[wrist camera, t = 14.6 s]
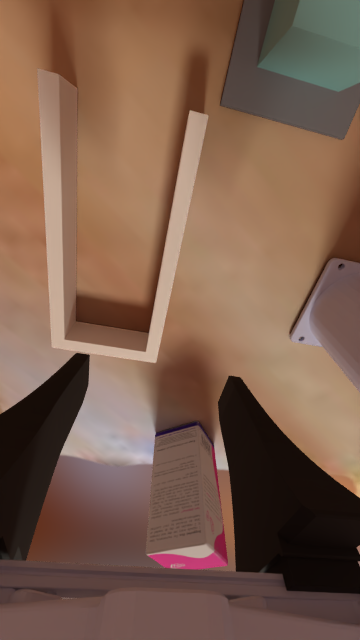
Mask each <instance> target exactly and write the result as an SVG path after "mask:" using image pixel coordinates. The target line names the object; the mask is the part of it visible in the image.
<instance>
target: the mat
mask: <svg viewBox="0 0 360 640" xmlns="http://www.w3.org/2000/svg"><path fill="white" fill-rule="evenodd" d="M274 2H275V0H244V2H243V6H242V11H241V15H240V20H239V24H238V28H237V33H236V37H235V42H234V46H233V50H232V55H231V59H230V64H229V68H228V72H227V77H226V81H225V86H224V90H223V94H222V99H221V103H220V106H224V107H227V108H231V109H234V110H238V111H241V112H245V113H249V114H252V115H256V116H259V117H263V118H266V119H270V120H273V121H277V122H280V123H284V124H288V125H291V126H295V127H298V128H302V129H305V130H309V131H312V132H316V133H320V134H323V135H327V136H330V137H334V138H337V139H341V140H342V139H344V138H345V135H346V133H347V131H348V129H349V126H350V124H351V122H352V120H353V117H354V115H355V113H356V110H357V108H358V106H359V104H360V83H358V84H355V85H353V86H351V87H348V88H346V89H344V90H342V91H339V92H337V91H334V90H331V89H328V88H324V87H321V86H318V85H315V84H311V83H308V82H305V81H302V80H298V79H295V78H292V77H289V76H285V75H282V74H279V73H276V72H272V71H269V70H266V69H263V68H259V67H257V65H258V62H259V58H260V54H261V50H262V47H263V43H264V39H265V35H266V32H267V28H268V24H269V21H270V17H271V13H272V9H273V6H274Z"/></svg>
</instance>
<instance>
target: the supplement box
mask: <svg viewBox="0 0 360 640" xmlns="http://www.w3.org/2000/svg"><path fill="white" fill-rule="evenodd" d="M225 543H226V542H225V534H224V526H223V517H222V509H221V501H220V494H219V485H218V476H217V468H216V460H215V451H214V445H213V443H212V442H211V440H210V439H209V437H208V435H207V434H206V432H205V431H204V429H203V428H202V426H201V425H200V423H199V421H195V422H191V423H188V424H185V425H182V426H179V427H175V428H172V429H168V430H165V431H161V432H158V433H156V435H155V445H154V457H153V470H152V482H151V495H150V508H149V520H148V532H147V545H146V555H148V556H149V557H151V558H152V559H154V560H155V561H157V562H158V563H160V564H161V565H162V566H164V567H165V568H176V569H195V570H198V569H205V568H212V567H220V566H227V565H228V559H227V552H226V544H225Z"/></svg>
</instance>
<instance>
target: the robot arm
mask: <svg viewBox="0 0 360 640" xmlns="http://www.w3.org/2000/svg"><path fill="white" fill-rule="evenodd" d="M340 264H342V266H341V267H340V268H338V266H339V265H340ZM300 337H302V338H300ZM299 338H300V339H299ZM290 339H291V341H292V342H296V343H302V344H308V345H314V346H320V347H323V348H324V349H325V350H326V351H327V353H328V354H329V355H330V356H331V358H332V359H333V360H334V361H335V363H336V364H337V365H338V366H339V367H340V369H341V370H342V371H343V372H344V374H345V375H346V376H347V377H348V379H349V380H350V381H351V382H352V383H353V385H354V386H355V387H356V388H357V390H358V391H359V392H360V263H358V262H353V261H349V260H344V259H339V258H332V259H331V260H329V262H328V263H327V265H326V267H325V269H324V271H323V273H322V274H321V276H320V278H319V280H318V282H317V284H316V286H315V288H314V290H313V292H312V294H311V296H310V298H309V299H308V301H307V303H306V305H305V307H304V309H303V311H302V313H301V315H300V317H299V319H298V321H297V323H296V324H295V326H294V328H293V330H292V332H291V334H290ZM89 357H90V355H87V354H80V353H76V354H75V355H74V356H73V357H72V358H71V359H70V360H69V361H68V362H67V363H66V364H64V365H63V366H62V367H61V368H60V369H59V370H58V371H57V372H56V373H55V374H54V375H52V376H51V377H50V378H49V379H48V380H47V381H46V382H44V383H43V384H42V385H41V386H39V387H38V388H37V389H36V390H34V391H33V392H32V393H31V394H29V395H28V396H27V397H25V398H24V399H23V400H21V401H20V402H18V403H17V404H15V405H14V406H12V407H11V408H9V409H8V410H6V411H5V412H3V413H2V414H0V640H360V566H359V564H358V561H360V554H359V552H358V550H357V548H356V547H358V546H359V545H360V498H359V497H358V496H356V495H355V494H354V493H352V492H351V491H349V490H348V489H347V488H345V487H344V486H343V485H341V484H340V483H338V482H337V481H335V480H334V479H333V478H332V477H331V476H330V475H328V474H327V473H326V472H325V471H323V470H322V469H321V468H320V467H319V466H317V465H316V464H315V463H314V462H313V461H312V460H311V459H309V458H308V457H307V456H306V455H305V454H304V453H303V452H302V451H301V450H300V449H299V448H298V447H297V446H296V445H295V444H294V443H293V442H292V441H291V440H290V439H289V438H288V437H287V436H286V435H285V434H284V433H283V432H282V431H281V430H280V429H279V427H278V426H277V425H276V424H275V423H274V422H273V420H272V419H271V418H270V417H269V415H268V414H267V413H266V412H265V410H264V409H263V408H262V407H261V405H260V404H259V403H258V401H257V400H256V399H255V397H254V396H253V394H252V393H251V392H250V390H249V389H248V387H247V386H246V385H245V383H244V382H243V380H242V379H241V378H240V377H235V376H229V377H228V380H227V382H226V384H225V387H224V389H223V392H222V394H221V396H220V399H219V401H218V408H219V421H220V426H221V432H222V437H223V442H224V447H225V451H226V456H227V461H228V467H229V474H230V484H231V493H232V504H233V518H234V534H235V560H236V572H233V571H214V570H195V569H176V568H156V567H155V568H154V567H137V566H118V565H98V564H79V563H58V562H40V561H39V562H38V561H26V558H27V555H28V552H29V548H30V545H31V542H32V538H33V535H34V532H35V528H36V525H37V522H38V519H39V516H40V512H41V509H42V506H43V503H44V500H45V497H46V494H47V491H48V488H49V485H50V482H51V479H52V476H53V473H54V470H55V467H56V464H57V461H58V458H59V455H60V453H61V450H62V448H63V446H64V443H65V441H66V439H67V437H68V434H69V432H70V430H71V428H72V426H73V423H74V421H75V419H76V417H77V415H78V412H79V410H80V408H81V406H82V403H83V400H84V397H85V394H86V391H87V387H88V381H89ZM61 597H65V598H66V597H67V598H68V597H69V598H73V599H62V598H61Z"/></svg>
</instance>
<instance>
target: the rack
mask: <svg viewBox="0 0 360 640" xmlns="http://www.w3.org/2000/svg"><path fill="white" fill-rule="evenodd" d="M37 72H38V91H39V111H40V130H41V149H42V168H43V187H44V206H45V225H46V244H47V263H48V282H49V301H50V321H51V340H52V348H58V349H65V350H72V351H78V352H85V353H92V354H99V355H105V356H112V357H119V358H125V359H132V360H139V361H145V362H152V363H156V361H157V356H158V351H159V346H160V342H161V337H162V332H163V328H164V323H165V318H166V314H167V309H168V304H169V300H170V295H171V290H172V285H173V281H174V276H175V271H176V267H177V262H178V257H179V253H180V248H181V243H182V239H183V234H184V229H185V224H186V220H187V215H188V210H189V206H190V201H191V196H192V192H193V187H194V182H195V178H196V173H197V168H198V163H199V159H200V154H201V149H202V145H203V140H204V135H205V131H206V126H207V121H208V117H209V115H206V114H202V113H198V112H195V111H191V110H190V112H189V115H188V119H187V124H186V130H185V135H184V141H183V147H182V152H181V158H180V163H179V169H178V174H177V180H176V185H175V191H174V196H173V202H172V207H171V213H170V218H169V224H168V230H167V235H166V241H165V246H164V252H163V257H162V263H161V268H160V274H159V279H158V285H157V290H156V296H155V301H154V307H153V313H152V318H151V324H150V329H149V333H145V332H139V331H133V330H127V329H121V328H115V327H108V326H102V325H96V324H90V323H84V322H78V321H76V241H77V91H78V89H77V88H76V87H75V86H74V85H72V84H71V83H70V82H68V81H67V80H66V79H65V78H63V77H62V76H61V75H59V74H57V73H53V72H49V71H46V70H42V69H39V68H37Z"/></svg>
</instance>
